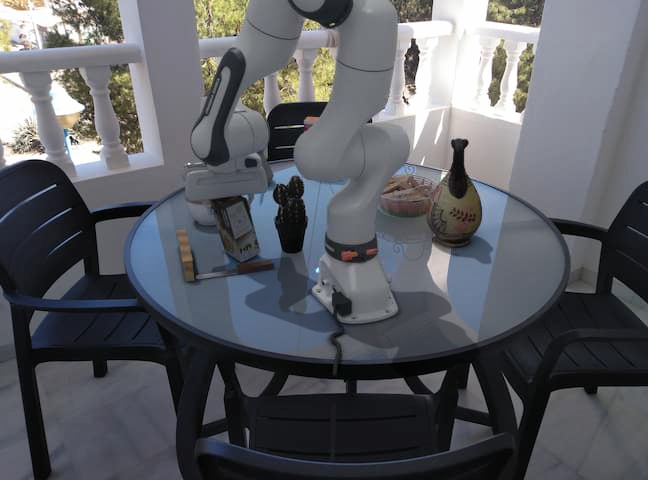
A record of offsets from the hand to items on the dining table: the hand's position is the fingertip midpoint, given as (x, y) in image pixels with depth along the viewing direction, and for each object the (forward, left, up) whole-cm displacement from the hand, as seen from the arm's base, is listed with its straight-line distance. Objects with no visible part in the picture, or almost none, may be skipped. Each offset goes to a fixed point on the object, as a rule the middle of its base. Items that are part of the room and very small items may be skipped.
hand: (229, 212), depth 137 cm
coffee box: (0, -2, -12) cm, 12 cm away
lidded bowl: (+24, +3, -13) cm, 27 cm away
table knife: (-9, +1, -12) cm, 16 cm away
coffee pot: (+47, -15, -13) cm, 51 cm away
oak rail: (-1, +12, -12) cm, 17 cm away
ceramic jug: (-10, -60, -13) cm, 62 cm away
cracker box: (+52, -42, -13) cm, 68 cm away
